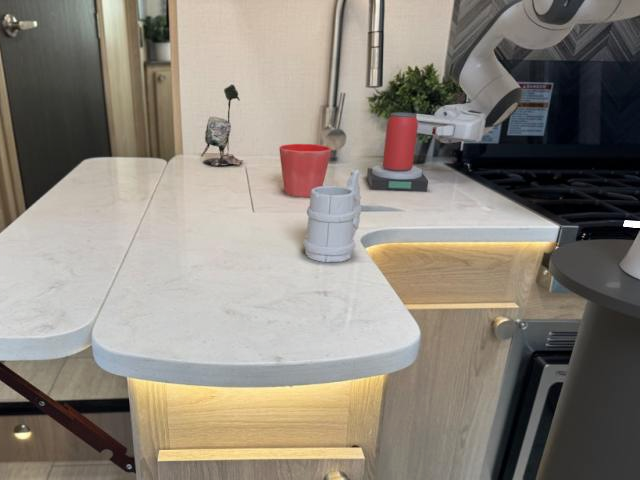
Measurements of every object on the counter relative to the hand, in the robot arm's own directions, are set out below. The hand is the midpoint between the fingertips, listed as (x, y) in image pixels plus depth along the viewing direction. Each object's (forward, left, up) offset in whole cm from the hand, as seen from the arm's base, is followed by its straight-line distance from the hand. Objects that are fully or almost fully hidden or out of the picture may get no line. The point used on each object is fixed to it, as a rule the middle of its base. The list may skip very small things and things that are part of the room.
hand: (416, 128), depth 127 cm
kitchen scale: (+4, +4, -12) cm, 13 cm away
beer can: (+4, +4, -8) cm, 10 cm away
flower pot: (+25, +15, -12) cm, 32 cm away
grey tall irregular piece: (+47, -14, -12) cm, 50 cm away
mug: (+19, +53, -12) cm, 57 cm away
